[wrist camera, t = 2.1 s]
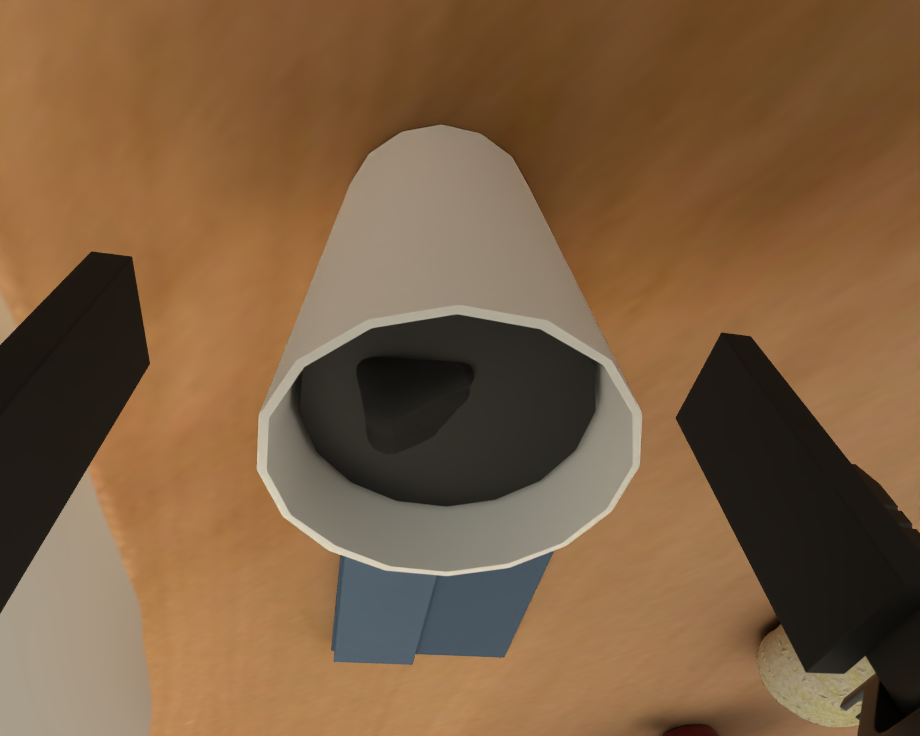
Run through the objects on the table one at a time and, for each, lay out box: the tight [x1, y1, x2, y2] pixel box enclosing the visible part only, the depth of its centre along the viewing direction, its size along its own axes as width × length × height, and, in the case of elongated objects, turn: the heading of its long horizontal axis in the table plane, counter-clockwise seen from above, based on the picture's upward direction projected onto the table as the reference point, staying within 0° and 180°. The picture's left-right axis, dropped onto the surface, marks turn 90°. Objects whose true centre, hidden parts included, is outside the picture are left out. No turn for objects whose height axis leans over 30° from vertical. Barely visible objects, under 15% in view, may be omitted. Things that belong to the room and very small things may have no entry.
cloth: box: [331, 551, 554, 665], centre depth 28 cm, size 20×10×1 cm, turn 170°
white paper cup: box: [257, 124, 642, 576], centre depth 14 cm, size 7×7×10 cm
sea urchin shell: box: [756, 624, 875, 727], centre depth 34 cm, size 9×8×8 cm
